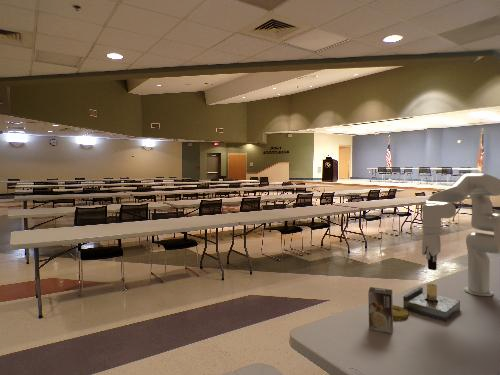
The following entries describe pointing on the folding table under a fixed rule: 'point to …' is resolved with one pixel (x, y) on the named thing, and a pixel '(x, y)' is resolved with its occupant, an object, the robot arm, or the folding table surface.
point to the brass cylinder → (431, 293)
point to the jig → (430, 305)
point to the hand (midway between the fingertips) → (432, 269)
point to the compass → (399, 313)
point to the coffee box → (380, 309)
